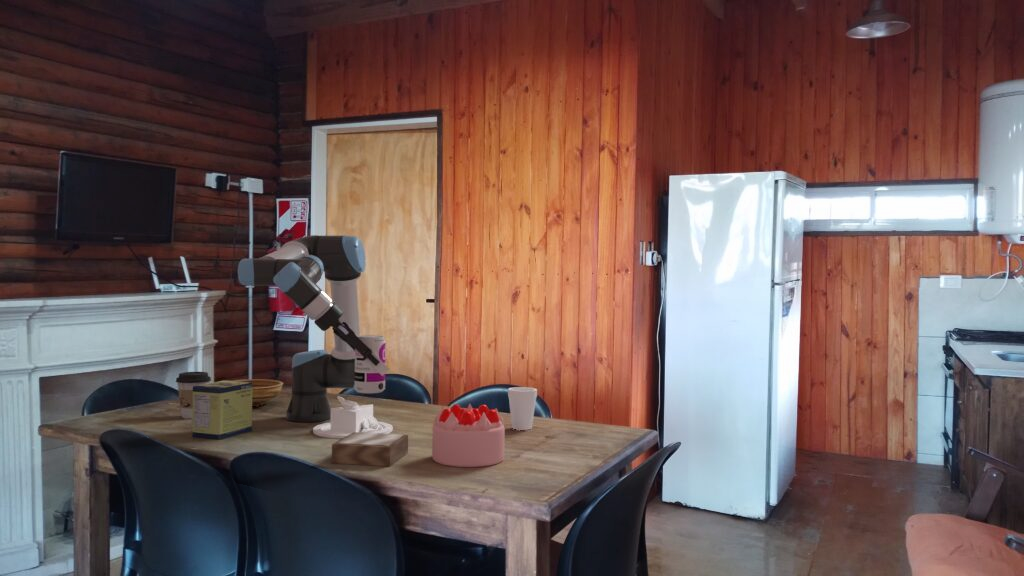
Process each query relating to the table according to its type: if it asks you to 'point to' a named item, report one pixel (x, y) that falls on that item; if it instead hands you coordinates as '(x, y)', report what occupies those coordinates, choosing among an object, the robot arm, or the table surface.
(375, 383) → the supplement can
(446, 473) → the table surface
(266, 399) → the wicker basket
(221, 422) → the protein box
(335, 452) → the walnut stand
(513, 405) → the foam cup
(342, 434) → the dish
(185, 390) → the coffee cup
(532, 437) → the table surface
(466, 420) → the cake
